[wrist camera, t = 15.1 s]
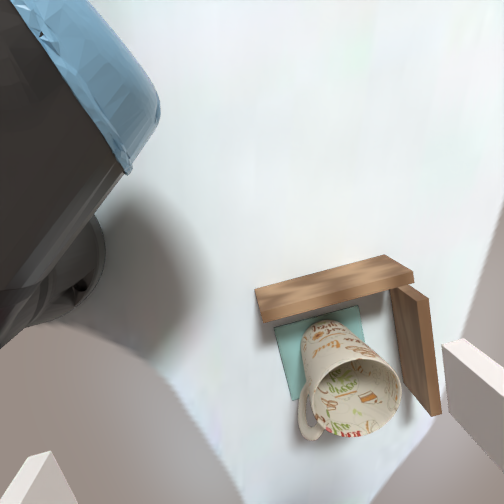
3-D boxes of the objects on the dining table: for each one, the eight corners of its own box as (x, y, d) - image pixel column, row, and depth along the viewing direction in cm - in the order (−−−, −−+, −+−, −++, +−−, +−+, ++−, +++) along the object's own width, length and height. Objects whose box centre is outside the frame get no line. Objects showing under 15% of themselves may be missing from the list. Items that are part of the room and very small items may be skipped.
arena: (287, 414, 44) (297, 453, 38) (254, 289, 39) (260, 312, 33) (412, 380, 44) (441, 413, 38) (394, 251, 39) (424, 268, 33)
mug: (372, 324, 41) (419, 375, 31) (324, 410, 44) (354, 482, 34) (309, 299, 39) (338, 345, 30) (263, 390, 42) (276, 459, 32)
